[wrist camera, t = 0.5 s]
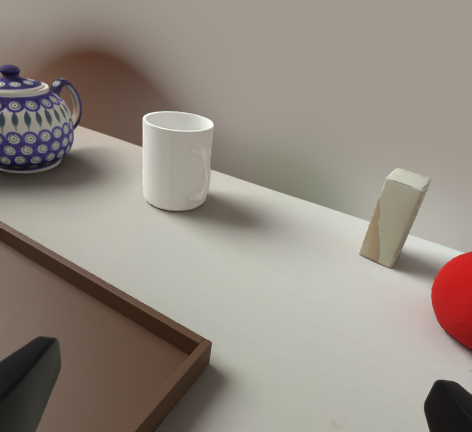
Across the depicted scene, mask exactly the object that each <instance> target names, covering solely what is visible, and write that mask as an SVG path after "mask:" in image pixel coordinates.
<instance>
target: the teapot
mask: <svg viewBox="0 0 472 432" xmlns="http://www.w3.org/2000/svg"><path fill="white" fill-rule="evenodd" d="M0 72H1V73H2V74H3V77H2V78H0V170H1V171H5V172H10V173H36V172H42V171H46V170H49V169H52V168H54V167H56V166H57V165H58V164H59V163H60V162H61V159H62V158H63V157H64V156H65V155H66V154H67V153H68V152H69V151H70V149H71V147H72V144H73V139H74V129H75V128H76V127H77V125H78V124H79V121H80V118H81V114H82V109H81V108H82V104H81V100H80V97H79V94H78V92H77V90H76V89H75V88H74V86H73V85H72V84H71V83H70V82H69V81H67V80H65V79H61V78H60V79H57V80H56V81H55V82H54V83H53V85H52V86H51V88H50V89H49V87H48V85H47V84H45V83H42V82H40V81H36V80H32V79H27V78H21V77H19V73H20V70H19V68H18V67H16V66H13V65H3V66H1V67H0ZM63 86H65V87H66V88H67V89H68V91H69V93H70V95H71V97H72V101H73V115H72V116H71V113H70V111H69V109H68V106H67V105H66V103H65V102H64V101H63V99H62V98H60V92H61V89H62V87H63Z"/></svg>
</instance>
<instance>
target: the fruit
mask: <svg viewBox="0 0 472 432" xmlns="http://www.w3.org/2000/svg"><path fill="white" fill-rule="evenodd" d="M431 298H432V305H433V309H434V312H435V315H436V318H437V320H438V322H439V324H440V325H441V327H442V328H443V329H444V330H445V331H446V332H447V333H449V334H450V335H451V336H453V337H454V338H455V339H456V340H458V341H459V342H461V343H462V344H463V345H465V346H466V347H468V348H470V349H472V252H469V253H465V254H462V255H459V256H457V257H455V258H453V259H452V260H450V261H449V262H448V263H446V264H445V265H444V266H443V268H442V269H441V270H440V271H439V272H438V274H437V276H436V278H435V279H434V283H433V286H432V294H431Z"/></svg>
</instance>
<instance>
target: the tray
mask: <svg viewBox="0 0 472 432" xmlns="http://www.w3.org/2000/svg"><path fill="white" fill-rule="evenodd" d="M39 336H48V337H55V338H57V339H58V340H59V346H60V355H61V370H60V373H59V376H58V378H57V381H56V383H55V385H54V388H53V390H52V393H51V395H50V398H49V400H48V403H47V405H46V408H45V410H44V413H43V415H42V418H41V420H40V422H39V425H38V427H37V430H36V432H154V430H155V429H156V428H157V427H158V426H159V424H160V423H161V422H162V421H163V419H164V418H165V417H166V416H167V414H168V413H169V412H170V411H171V410H172V408H173V407H174V406H175V405H176V403H177V402H178V401H179V400H180V398H181V397H182V396H183V395H184V394H185V392H186V391H187V390H188V389H189V387H190V386H191V385H192V384H193V382H194V381H195V380H196V379H197V378H198V376H199V375H200V374H201V373H202V371H203V370H204V369H205V368H206V366H207V365H208V364H209V359H210V353H211V345H212V342H210V341H209V340H207V339H204V338H203V337H201V336H200V335H198V334H196V333H195V332H193V331H191V330H189V329H188V328H186V327H184V326H182V325H181V324H179V323H177V322H175V321H174V320H172V319H170V318H168V317H167V316H165V315H163V314H161V313H160V312H158V311H156V310H154V309H153V308H151V307H149V306H147V305H146V304H144V303H142V302H140V301H139V300H137V299H135V298H133V297H132V296H130V295H128V294H126V293H125V292H123V291H121V290H119V289H118V288H116V287H114V286H112V285H111V284H109V283H107V282H105V281H104V280H102V279H100V278H98V277H97V276H95V275H93V274H91V273H90V272H88V271H86V270H84V269H83V268H81V267H79V266H78V265H76V264H74V263H72V262H71V261H69V260H67V259H65V258H64V257H62V256H60V255H58V254H57V253H55V252H53V251H51V250H50V249H48V248H46V247H44V246H43V245H41V244H39V243H37V242H36V241H34V240H32V239H30V238H29V237H27V236H25V235H23V234H22V233H20V232H18V231H16V230H15V229H13V228H11V227H9V226H8V225H6V224H4V223H2V222H1V221H0V361H1V360H3V359H4V358H6V357H7V356H9V355H10V354H12V353H13V352H15V351H16V350H18V349H19V348H21V347H23V346H24V345H26V344H27V343H29V342H30V341H32V340H33V339H35V338H36V337H39Z"/></svg>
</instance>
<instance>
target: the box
mask: <svg viewBox="0 0 472 432" xmlns="http://www.w3.org/2000/svg"><path fill="white" fill-rule="evenodd" d="M430 182H431V178H427V177H424V176H421V175H418V174H415V173H412V172H409V171H406V170H403V169H399V168H396V169H395V170H394V171H393V172H392V173H390V174H389V176H388V177H387V178H386V179H385V182H384V185H383V188H382V191H381V194H380V196H379V199H378V202H377V205H376V208H375V210H374V213H373V216H372V219H371V222H370V224H369V227H368V230H367V233H366V236H365V238H364V241H363V244H362V247H361V250H360V253H359V254H360V255H362V256H364V257H366V258H369V259H371V260H373V261H375V262H378V263H380V264H382V265H384V266H386V267H388V268H391V267H392V266H393V265H394V263H395V261H396V260H397V258H398V256H399V254H400V252H401V250H402V248H403V245H404V243H405V241H406V239H407V236H408V234H409V231H410V229H411V227H412V225H413V222H414V220H415V218H416V215H417V213H418V211H419V208H420V206H421V204H422V201H423V199H424V196H425V194H426V192H427V189H428V187H429V184H430Z"/></svg>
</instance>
